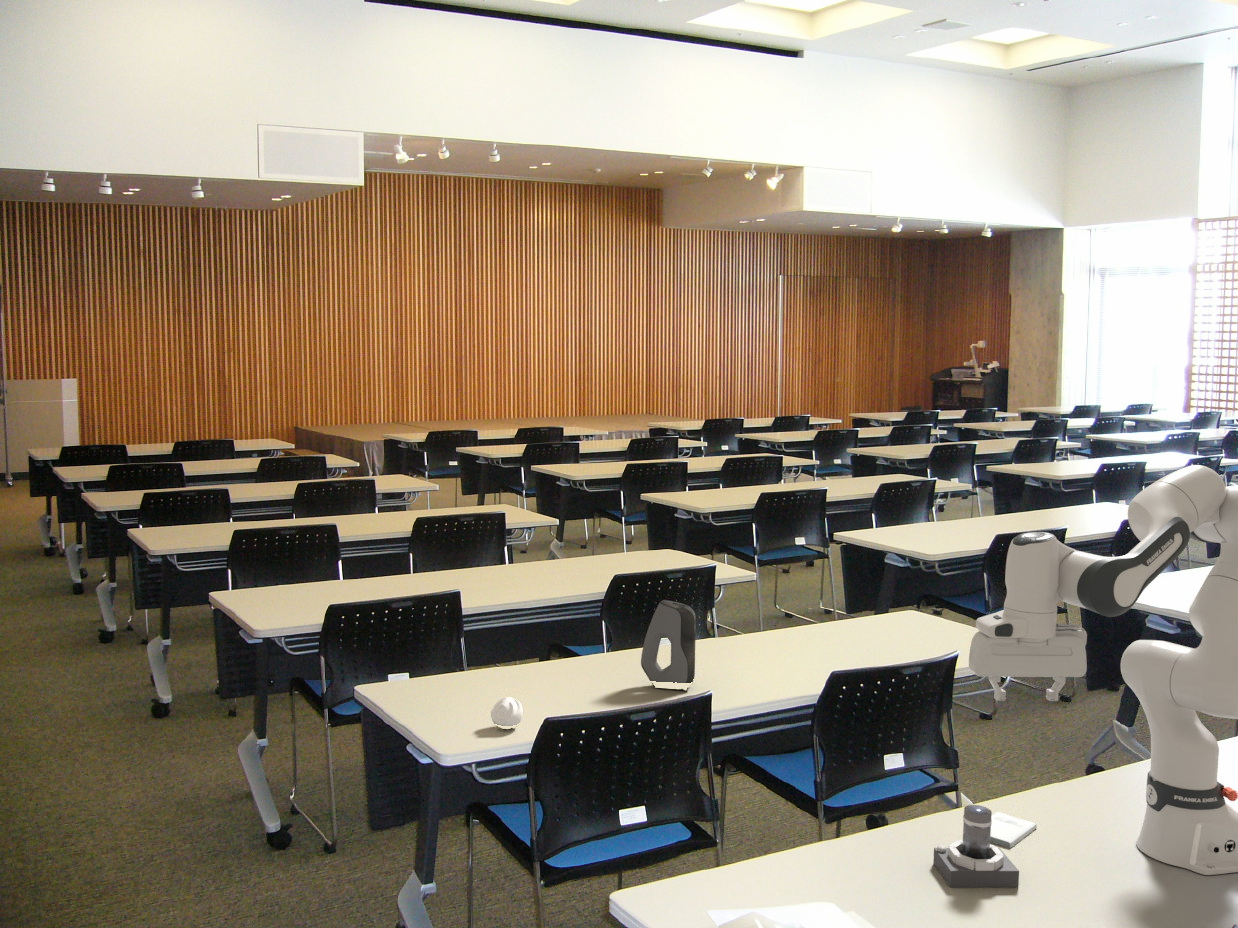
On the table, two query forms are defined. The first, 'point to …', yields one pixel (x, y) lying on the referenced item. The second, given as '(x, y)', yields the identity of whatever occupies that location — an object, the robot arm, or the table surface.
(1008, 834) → the external hard drive
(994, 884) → the octagonal socket base
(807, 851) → the table surface
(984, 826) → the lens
